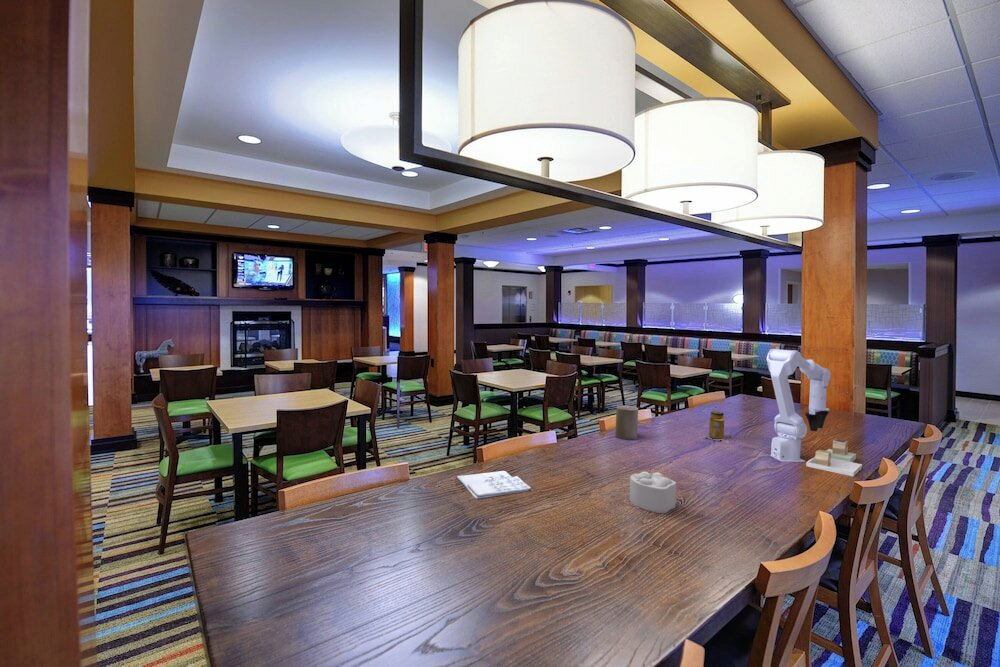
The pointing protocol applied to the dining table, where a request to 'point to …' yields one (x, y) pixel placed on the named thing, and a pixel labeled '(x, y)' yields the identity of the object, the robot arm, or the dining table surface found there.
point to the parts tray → (837, 466)
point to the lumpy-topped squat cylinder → (652, 492)
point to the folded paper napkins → (492, 484)
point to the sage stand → (849, 457)
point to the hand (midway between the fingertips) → (816, 429)
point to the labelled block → (840, 447)
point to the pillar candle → (626, 422)
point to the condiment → (716, 425)
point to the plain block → (823, 458)
